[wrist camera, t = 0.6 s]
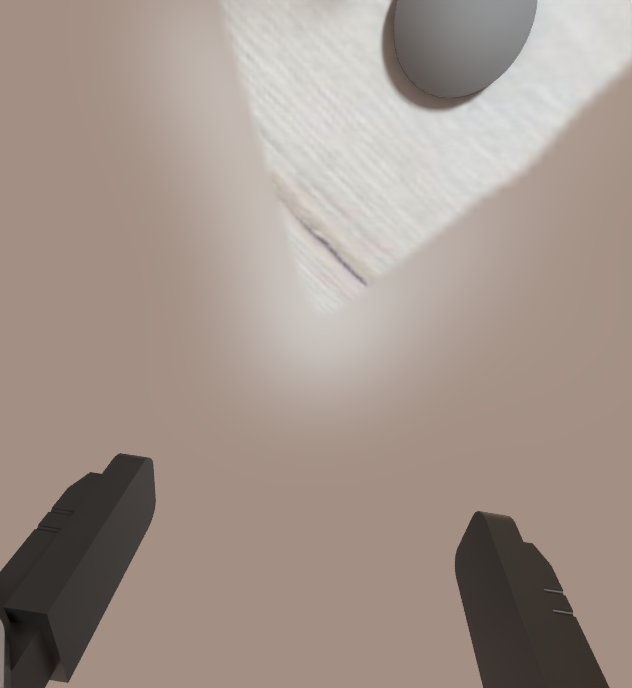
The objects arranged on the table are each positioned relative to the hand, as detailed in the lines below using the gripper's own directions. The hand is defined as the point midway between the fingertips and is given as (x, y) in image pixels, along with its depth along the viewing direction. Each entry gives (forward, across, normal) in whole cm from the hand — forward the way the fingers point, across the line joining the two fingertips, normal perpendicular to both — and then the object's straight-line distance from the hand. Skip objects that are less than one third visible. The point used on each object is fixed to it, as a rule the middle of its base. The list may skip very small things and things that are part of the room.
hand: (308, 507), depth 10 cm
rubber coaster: (+24, -5, -16) cm, 29 cm away
